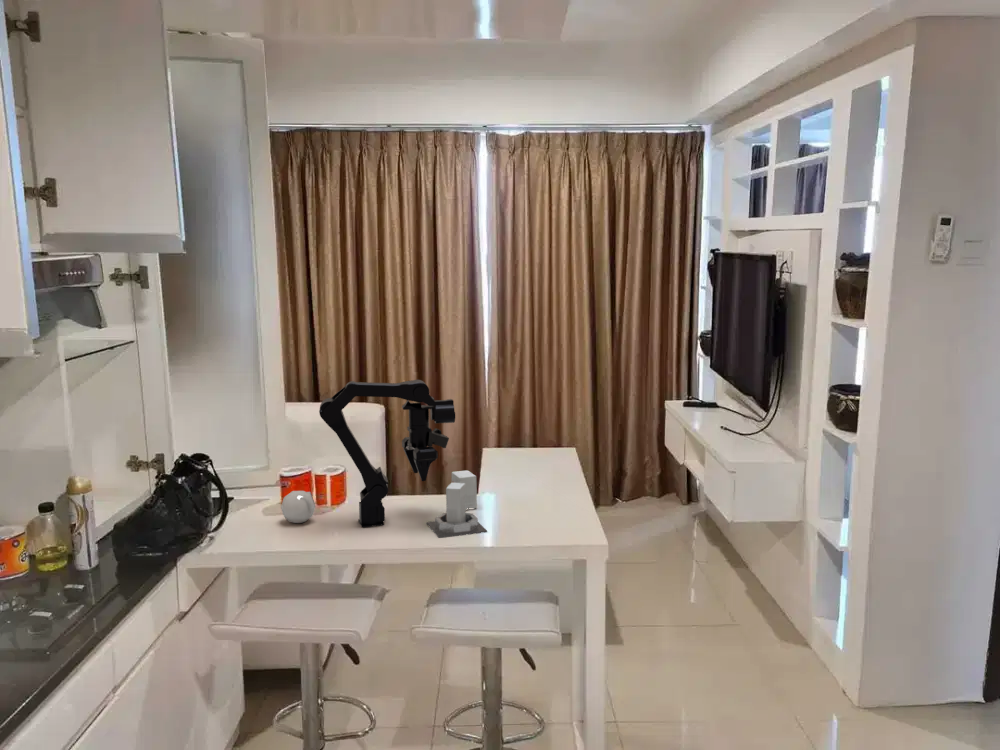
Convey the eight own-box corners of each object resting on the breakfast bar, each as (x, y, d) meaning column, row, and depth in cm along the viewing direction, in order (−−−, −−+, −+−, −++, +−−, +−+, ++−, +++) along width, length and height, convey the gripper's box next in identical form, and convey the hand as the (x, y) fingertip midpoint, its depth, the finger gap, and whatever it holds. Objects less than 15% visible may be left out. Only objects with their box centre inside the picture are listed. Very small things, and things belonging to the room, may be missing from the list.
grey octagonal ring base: (438, 538, 205) (438, 528, 205) (426, 523, 217) (426, 514, 217) (487, 532, 210) (487, 522, 210) (472, 518, 222) (472, 508, 222)
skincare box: (451, 522, 217) (451, 482, 215) (465, 523, 216) (465, 482, 214) (446, 529, 211) (445, 487, 209) (460, 530, 210) (460, 488, 209)
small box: (477, 509, 230) (476, 476, 229) (459, 511, 228) (459, 477, 227) (468, 502, 238) (468, 469, 236) (451, 504, 236) (451, 471, 234)
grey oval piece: (290, 533, 213) (300, 522, 228) (319, 512, 214) (326, 503, 229) (270, 507, 212) (281, 498, 227) (299, 486, 213) (308, 478, 228)
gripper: (455, 428, 211) (455, 482, 213) (437, 416, 228) (437, 466, 230) (416, 431, 207) (417, 486, 209) (401, 419, 224) (402, 470, 226)
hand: (419, 476), depth 218 cm, fingers open, 9 cm apart
